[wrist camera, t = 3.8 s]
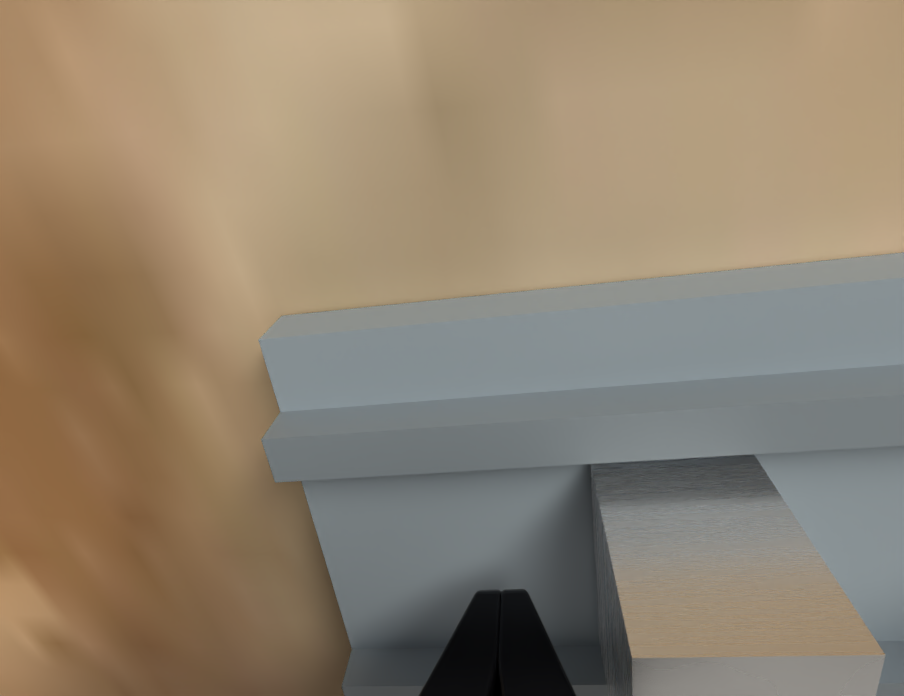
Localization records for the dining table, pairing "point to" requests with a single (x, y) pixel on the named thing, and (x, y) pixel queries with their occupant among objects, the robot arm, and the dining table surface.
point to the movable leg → (717, 587)
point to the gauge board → (584, 441)
